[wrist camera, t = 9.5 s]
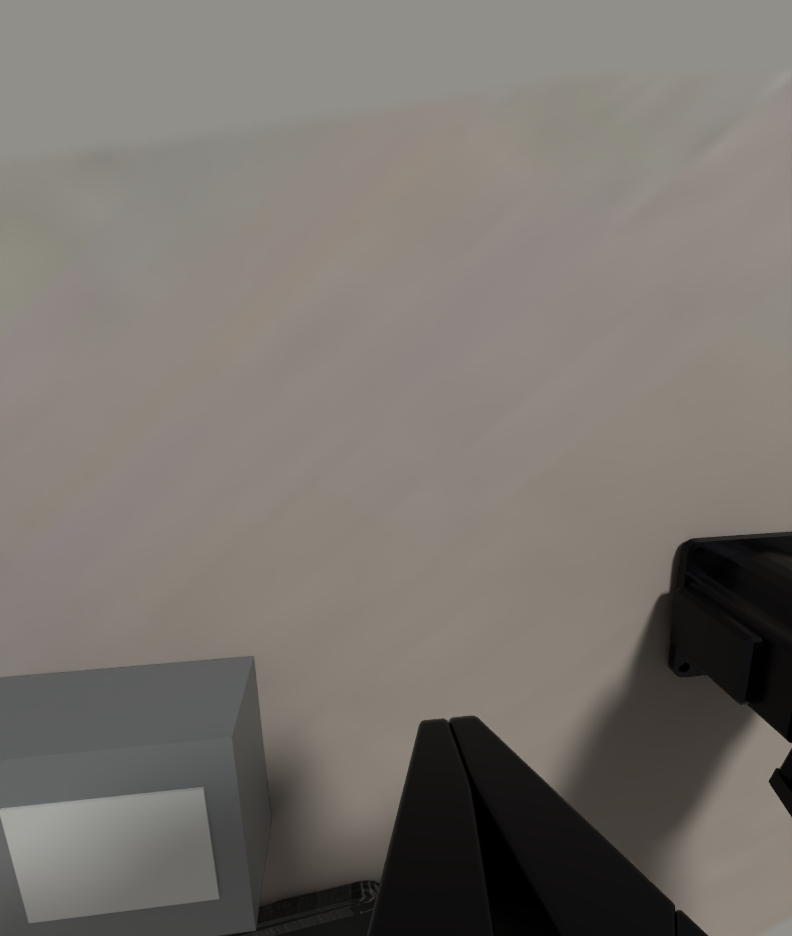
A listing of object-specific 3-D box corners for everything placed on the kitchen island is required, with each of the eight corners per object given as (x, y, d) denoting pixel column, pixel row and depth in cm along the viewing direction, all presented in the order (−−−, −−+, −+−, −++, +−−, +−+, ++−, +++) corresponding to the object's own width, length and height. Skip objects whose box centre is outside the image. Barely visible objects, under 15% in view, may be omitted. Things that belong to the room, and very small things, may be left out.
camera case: (253, 656, 21) (231, 739, 17) (272, 831, 24) (256, 945, 19) (-32, 680, 20) (-136, 775, 16) (16, 861, 23) (-64, 989, 18)
